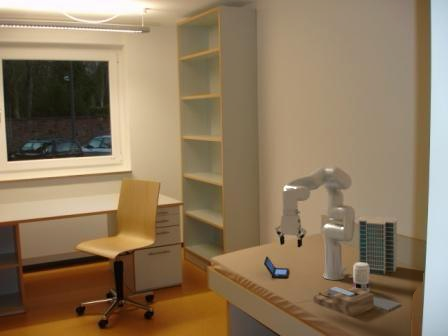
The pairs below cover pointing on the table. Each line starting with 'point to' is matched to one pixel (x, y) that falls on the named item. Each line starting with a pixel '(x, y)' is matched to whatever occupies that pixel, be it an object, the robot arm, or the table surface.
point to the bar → (341, 292)
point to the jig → (347, 301)
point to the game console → (276, 270)
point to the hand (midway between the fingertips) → (290, 245)
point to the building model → (378, 243)
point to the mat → (385, 303)
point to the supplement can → (361, 276)
